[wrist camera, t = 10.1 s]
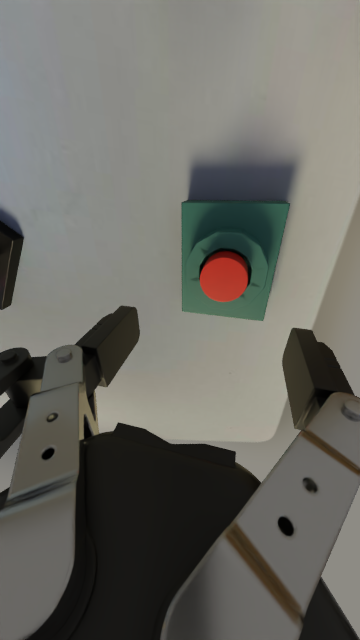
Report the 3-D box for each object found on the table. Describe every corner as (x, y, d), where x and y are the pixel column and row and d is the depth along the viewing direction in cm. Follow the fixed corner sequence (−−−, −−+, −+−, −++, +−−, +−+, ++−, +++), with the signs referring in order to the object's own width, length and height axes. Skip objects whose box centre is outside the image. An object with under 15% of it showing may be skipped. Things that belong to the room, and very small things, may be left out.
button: (204, 249, 18) (200, 255, 16) (251, 252, 17) (251, 258, 15) (202, 290, 19) (198, 299, 18) (244, 295, 19) (244, 304, 17)
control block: (187, 200, 19) (175, 204, 16) (285, 200, 18) (294, 205, 14) (186, 301, 25) (177, 320, 21) (261, 310, 23) (264, 331, 20)
